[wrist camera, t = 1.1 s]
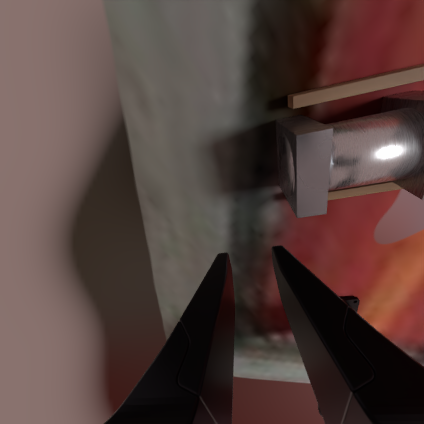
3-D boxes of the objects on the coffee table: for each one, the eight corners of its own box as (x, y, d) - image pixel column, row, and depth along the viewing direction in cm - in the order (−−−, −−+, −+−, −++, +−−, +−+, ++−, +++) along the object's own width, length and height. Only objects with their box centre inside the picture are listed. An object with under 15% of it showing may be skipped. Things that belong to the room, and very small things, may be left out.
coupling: (412, 90, 16) (500, 94, 11) (394, 164, 19) (456, 194, 14) (275, 120, 17) (296, 135, 12) (278, 184, 20) (296, 217, 15)
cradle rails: (466, 169, 18) (485, 175, 17) (290, 197, 21) (294, 205, 19) (522, 41, 14) (552, 37, 13) (287, 95, 16) (293, 96, 15)
